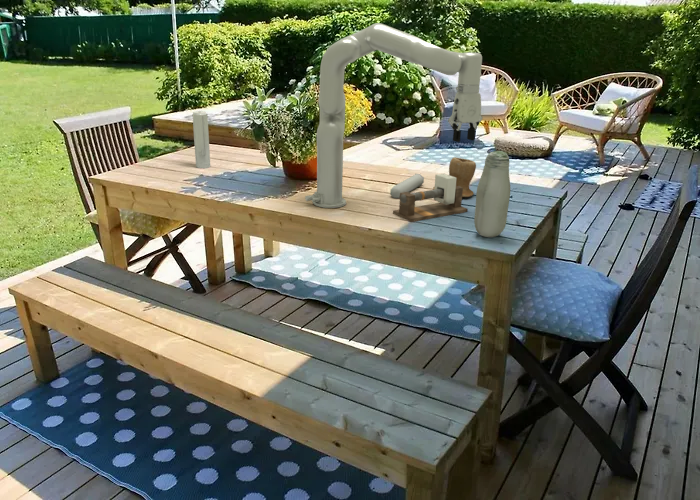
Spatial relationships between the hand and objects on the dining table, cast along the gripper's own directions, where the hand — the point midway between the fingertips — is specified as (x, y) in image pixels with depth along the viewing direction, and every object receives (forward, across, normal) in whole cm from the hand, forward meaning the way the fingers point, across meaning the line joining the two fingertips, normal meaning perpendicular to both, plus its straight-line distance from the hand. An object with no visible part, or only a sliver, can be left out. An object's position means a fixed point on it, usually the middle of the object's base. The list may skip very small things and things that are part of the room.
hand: (463, 140), depth 220 cm
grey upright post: (+26, -62, +105) cm, 125 cm away
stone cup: (+26, +12, +15) cm, 32 cm away
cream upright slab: (+22, -7, 0) cm, 23 cm away
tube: (+26, -3, +28) cm, 38 cm away
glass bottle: (+26, -12, -29) cm, 41 cm away
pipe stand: (+26, -13, 0) cm, 29 cm away
